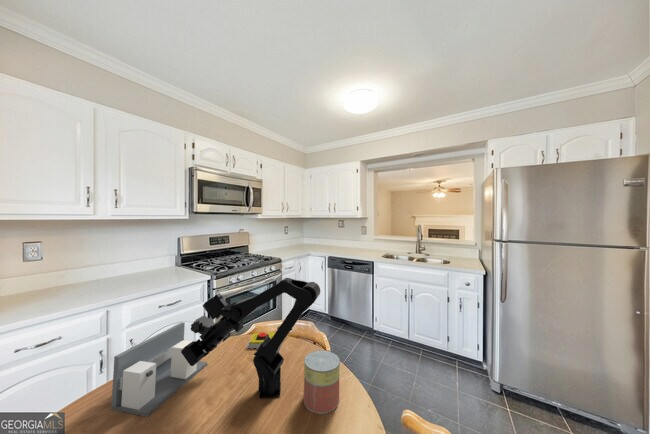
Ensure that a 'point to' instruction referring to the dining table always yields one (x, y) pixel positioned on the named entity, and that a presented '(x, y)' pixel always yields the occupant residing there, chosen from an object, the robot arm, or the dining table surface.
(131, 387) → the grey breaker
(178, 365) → the breaker module
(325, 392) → the canned food
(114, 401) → the mounting board
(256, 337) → the emergency button
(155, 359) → the steel rail
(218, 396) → the dining table surface
